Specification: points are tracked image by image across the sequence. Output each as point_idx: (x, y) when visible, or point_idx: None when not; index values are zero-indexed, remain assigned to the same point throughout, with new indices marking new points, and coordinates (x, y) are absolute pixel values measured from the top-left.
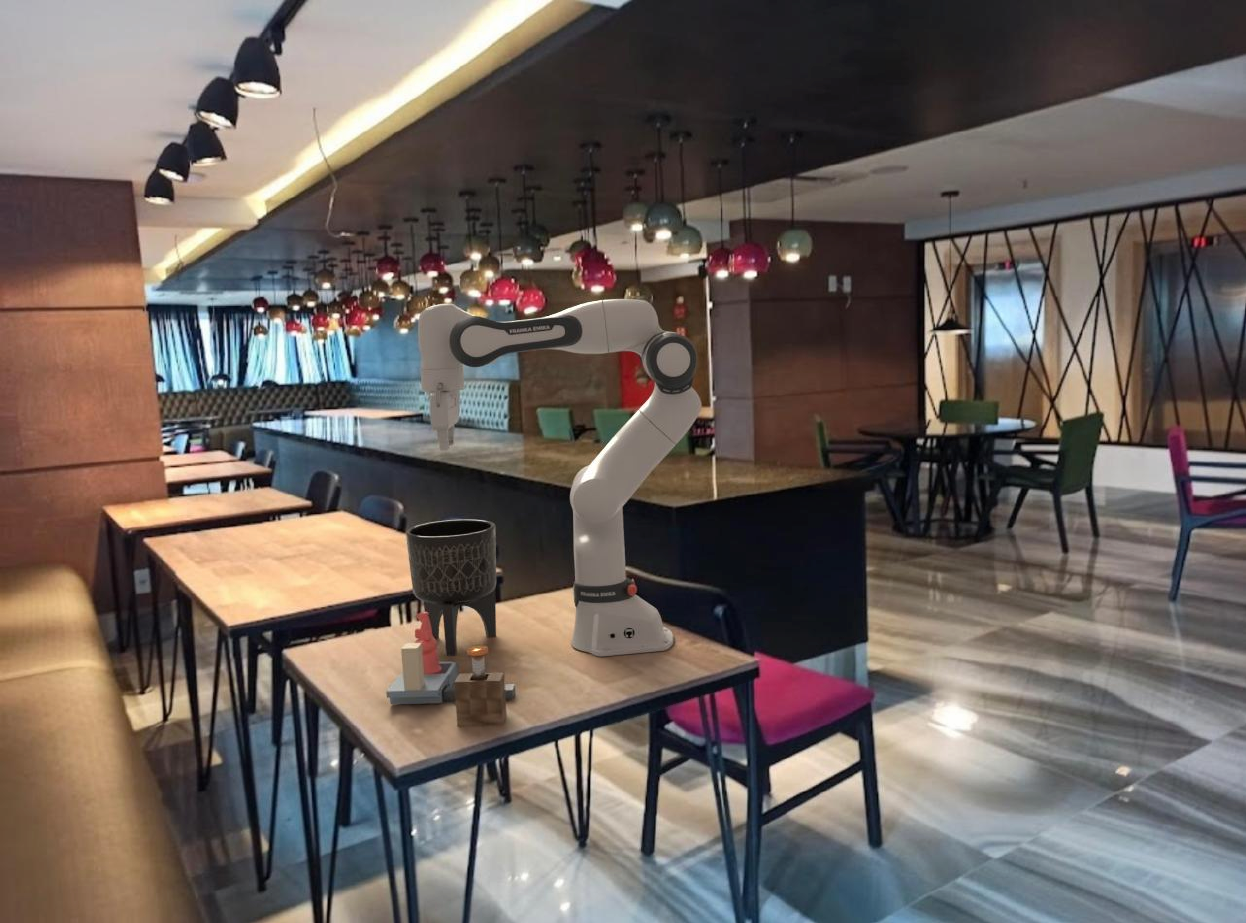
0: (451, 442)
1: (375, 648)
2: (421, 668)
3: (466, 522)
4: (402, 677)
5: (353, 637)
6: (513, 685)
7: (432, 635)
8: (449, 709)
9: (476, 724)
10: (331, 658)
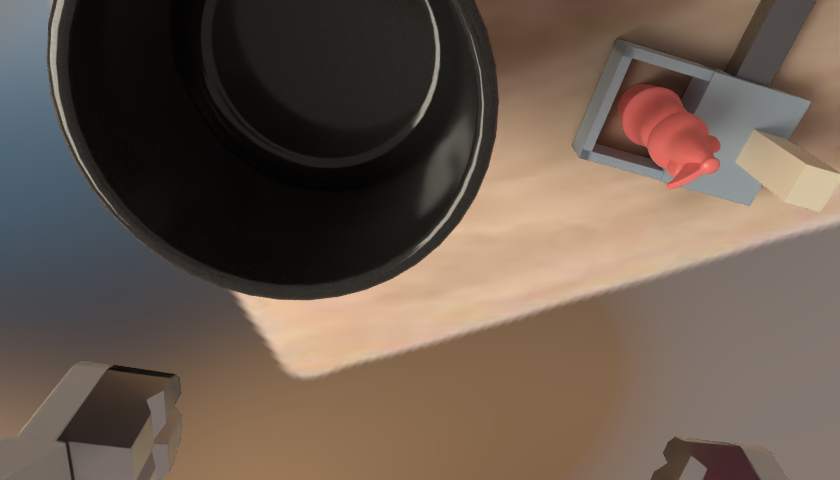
0: (164, 410)
1: None
2: (790, 147)
3: (79, 20)
4: None
5: None
6: None
7: (688, 129)
8: (806, 68)
9: None
10: (370, 301)
